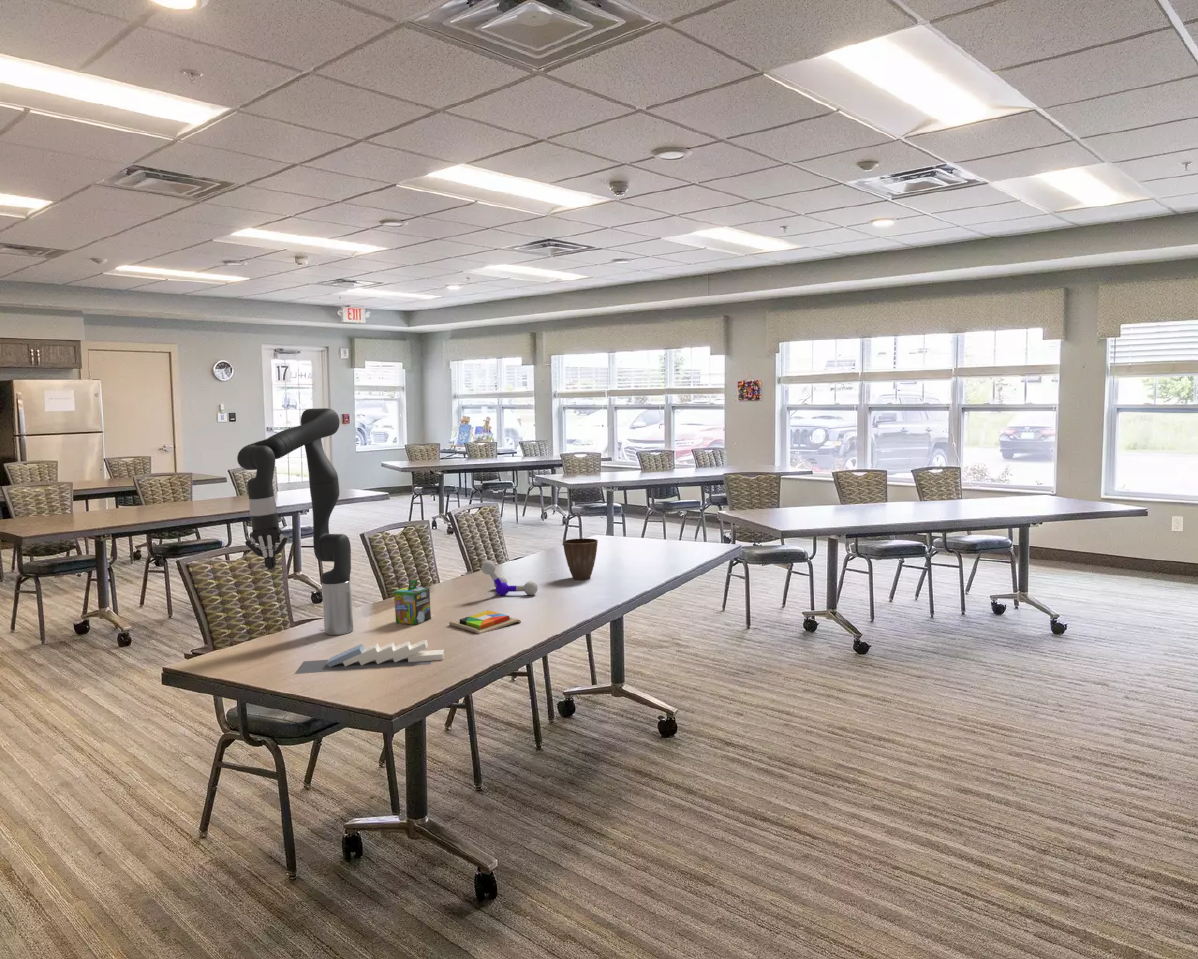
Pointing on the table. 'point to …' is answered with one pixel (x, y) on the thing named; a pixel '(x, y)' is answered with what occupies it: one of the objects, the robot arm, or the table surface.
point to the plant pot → (580, 557)
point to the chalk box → (412, 604)
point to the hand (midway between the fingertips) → (271, 568)
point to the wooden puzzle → (484, 622)
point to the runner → (353, 665)
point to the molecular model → (501, 582)
